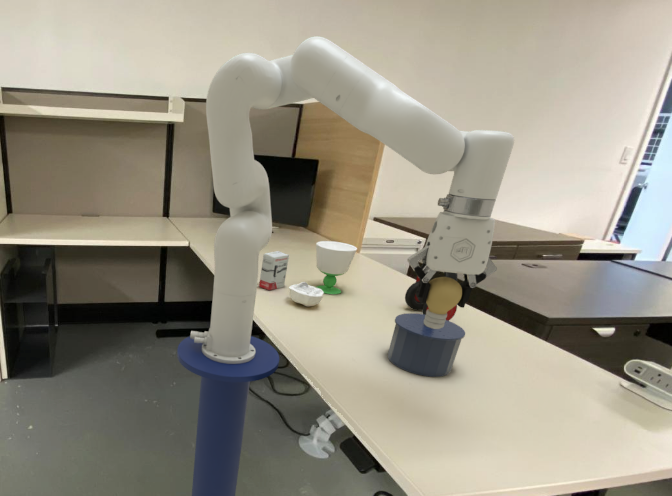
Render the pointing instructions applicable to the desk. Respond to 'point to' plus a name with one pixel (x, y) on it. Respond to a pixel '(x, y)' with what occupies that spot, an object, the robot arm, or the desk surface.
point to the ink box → (273, 270)
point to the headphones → (417, 305)
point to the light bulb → (441, 300)
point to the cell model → (305, 294)
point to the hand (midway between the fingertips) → (440, 302)
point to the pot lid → (416, 326)
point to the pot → (422, 353)
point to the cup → (333, 262)
